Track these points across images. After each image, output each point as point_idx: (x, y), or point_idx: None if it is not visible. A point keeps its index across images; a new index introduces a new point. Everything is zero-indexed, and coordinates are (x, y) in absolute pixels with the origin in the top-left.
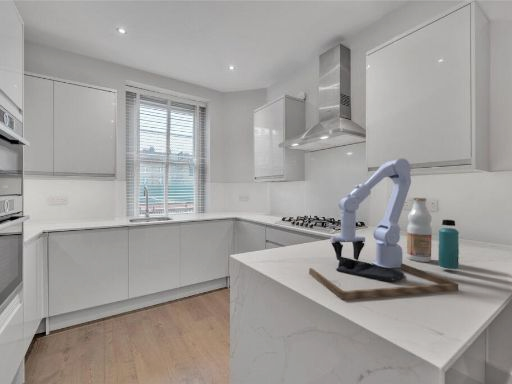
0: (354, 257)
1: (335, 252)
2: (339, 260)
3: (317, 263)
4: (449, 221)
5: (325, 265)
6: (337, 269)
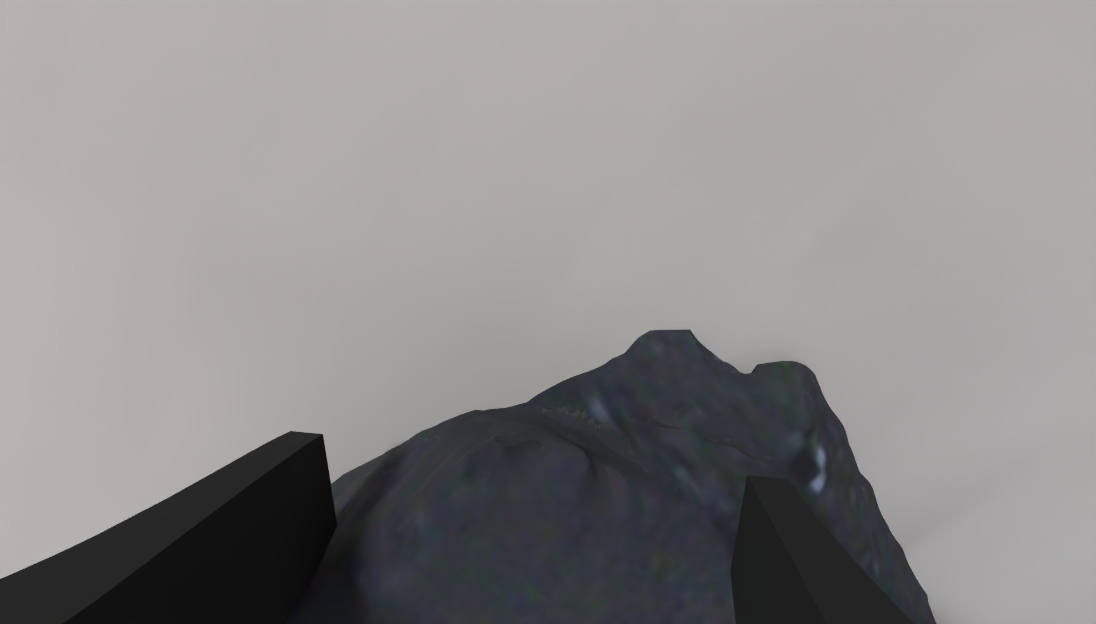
0: (751, 522)
1: (130, 525)
2: None
3: (7, 171)
4: None
5: (139, 323)
6: None
